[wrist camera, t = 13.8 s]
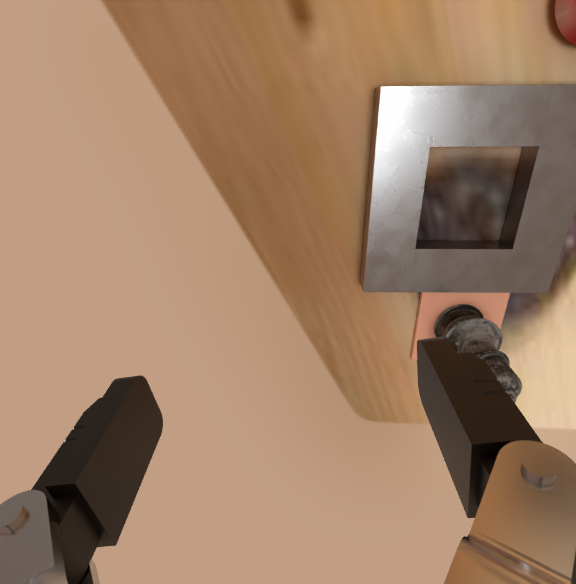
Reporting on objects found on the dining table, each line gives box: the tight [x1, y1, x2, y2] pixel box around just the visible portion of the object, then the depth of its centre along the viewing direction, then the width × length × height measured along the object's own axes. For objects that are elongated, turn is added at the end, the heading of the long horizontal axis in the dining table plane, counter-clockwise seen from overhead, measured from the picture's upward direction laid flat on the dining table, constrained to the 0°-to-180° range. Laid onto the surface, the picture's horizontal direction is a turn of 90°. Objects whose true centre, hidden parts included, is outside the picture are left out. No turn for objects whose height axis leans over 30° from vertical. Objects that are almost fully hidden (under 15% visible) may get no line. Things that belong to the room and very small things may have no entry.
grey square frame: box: [360, 84, 576, 293], centre depth 35 cm, size 18×18×2 cm
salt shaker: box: [434, 304, 522, 403], centre depth 36 cm, size 6×6×12 cm
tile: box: [410, 292, 510, 360], centre depth 42 cm, size 9×9×1 cm
